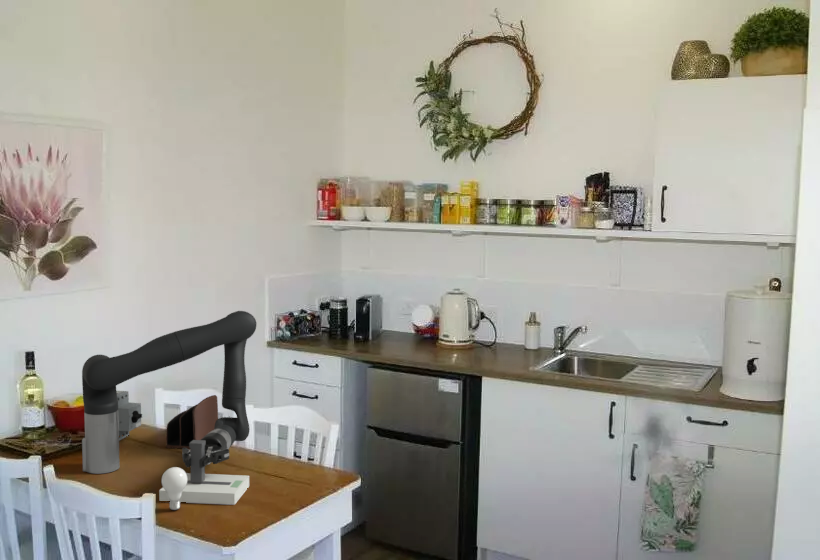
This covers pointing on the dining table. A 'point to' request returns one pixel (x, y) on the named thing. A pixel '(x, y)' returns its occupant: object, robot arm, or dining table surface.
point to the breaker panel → (212, 489)
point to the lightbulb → (174, 485)
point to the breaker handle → (197, 460)
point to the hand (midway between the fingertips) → (194, 464)
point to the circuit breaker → (127, 414)
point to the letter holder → (192, 423)
